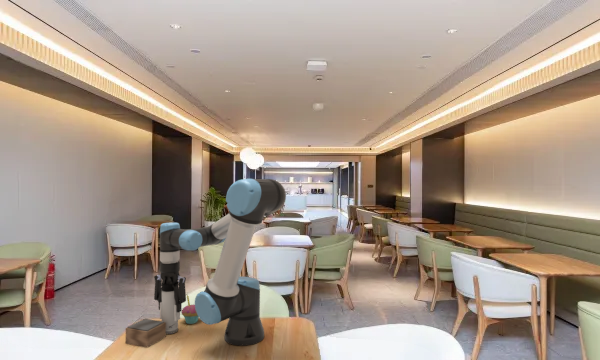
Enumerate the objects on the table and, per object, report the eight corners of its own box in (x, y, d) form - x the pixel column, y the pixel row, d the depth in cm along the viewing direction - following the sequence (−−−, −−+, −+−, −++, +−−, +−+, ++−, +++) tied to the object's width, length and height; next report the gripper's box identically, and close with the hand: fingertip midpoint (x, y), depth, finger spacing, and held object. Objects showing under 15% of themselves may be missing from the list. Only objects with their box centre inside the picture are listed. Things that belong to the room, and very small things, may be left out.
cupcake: (180, 326, 161) (180, 297, 161) (182, 318, 170) (182, 291, 170) (201, 324, 163) (201, 296, 163) (202, 317, 171) (202, 290, 171)
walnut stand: (165, 336, 150) (165, 321, 150) (147, 347, 141) (147, 330, 141) (144, 333, 154) (144, 318, 154) (125, 343, 144) (125, 327, 144)
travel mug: (173, 335, 152) (173, 284, 152) (158, 333, 153) (158, 283, 153) (181, 328, 158) (181, 279, 158) (167, 327, 159) (167, 279, 159)
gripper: (195, 261, 156) (195, 318, 156) (156, 257, 162) (156, 313, 162) (184, 265, 149) (184, 325, 149) (144, 261, 155) (144, 319, 155)
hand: (170, 318), depth 156 cm, fingers closed on travel mug, 6 cm apart
